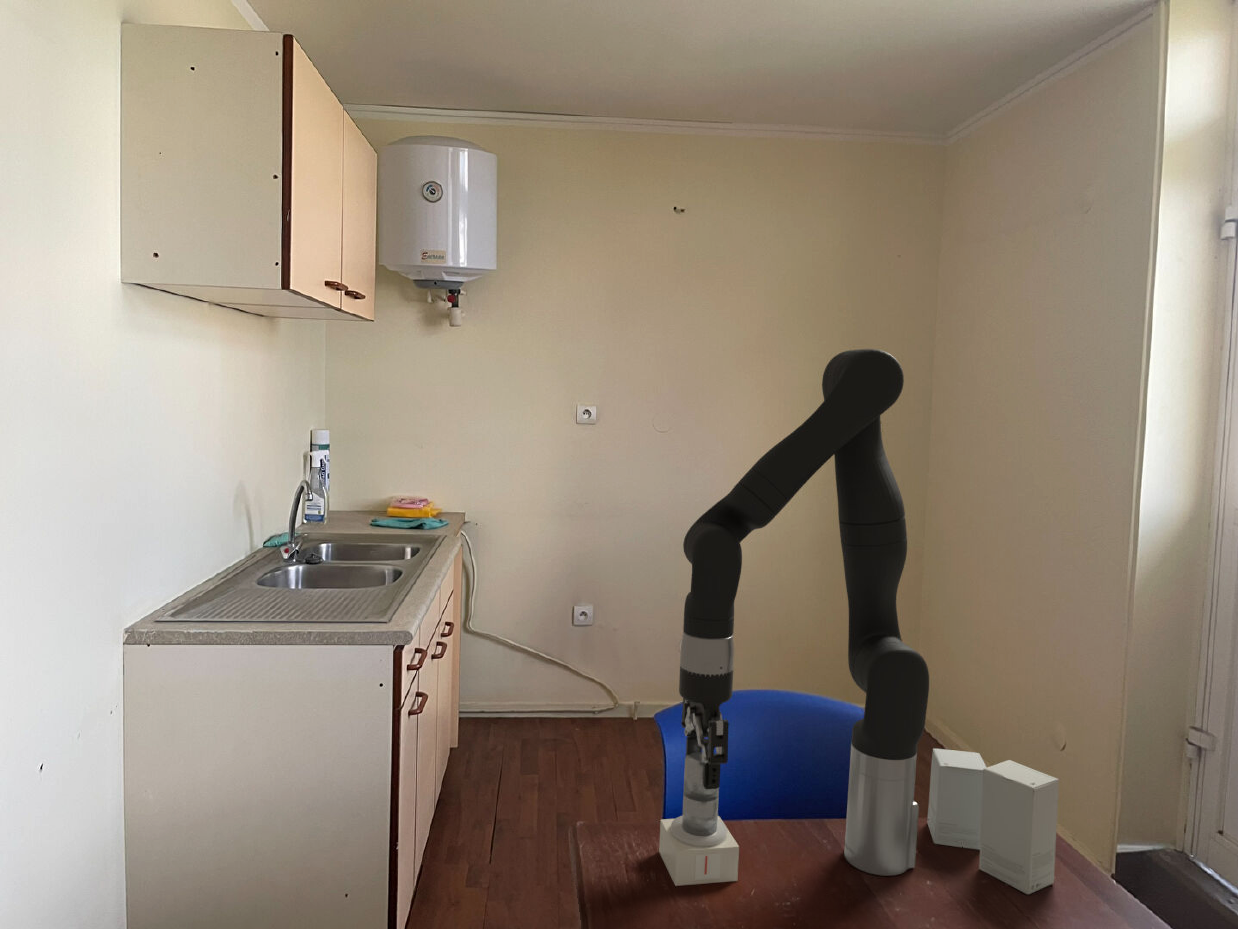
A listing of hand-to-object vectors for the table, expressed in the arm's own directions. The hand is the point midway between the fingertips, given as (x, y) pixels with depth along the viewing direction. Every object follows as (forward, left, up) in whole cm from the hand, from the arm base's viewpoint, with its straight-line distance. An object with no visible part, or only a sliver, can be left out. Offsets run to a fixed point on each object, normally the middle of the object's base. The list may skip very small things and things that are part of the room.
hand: (701, 774), depth 127 cm
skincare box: (-45, +9, -14) cm, 48 cm away
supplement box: (-43, -3, -14) cm, 45 cm away
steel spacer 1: (0, 0, -3) cm, 3 cm away
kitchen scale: (0, 0, -14) cm, 14 cm away
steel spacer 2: (0, 0, -8) cm, 8 cm away
